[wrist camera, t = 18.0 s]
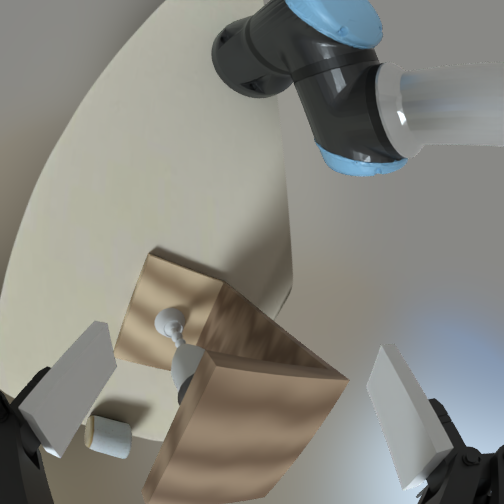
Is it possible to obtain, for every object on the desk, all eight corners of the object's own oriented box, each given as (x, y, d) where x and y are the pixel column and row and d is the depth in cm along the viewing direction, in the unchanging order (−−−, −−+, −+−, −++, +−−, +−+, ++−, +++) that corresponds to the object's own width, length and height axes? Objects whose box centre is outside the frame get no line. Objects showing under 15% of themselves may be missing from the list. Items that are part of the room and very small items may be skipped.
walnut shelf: (148, 252, 41) (216, 366, 16) (226, 281, 48) (349, 380, 24) (113, 352, 42) (146, 506, 17) (187, 369, 49) (264, 497, 24)
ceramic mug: (89, 405, 41) (91, 435, 35) (129, 416, 45) (135, 445, 39) (80, 437, 41) (82, 465, 35) (116, 446, 45) (121, 473, 39)
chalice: (192, 337, 46) (237, 407, 31) (152, 345, 43) (182, 423, 28) (188, 298, 44) (235, 360, 29) (145, 304, 41) (172, 375, 26)
